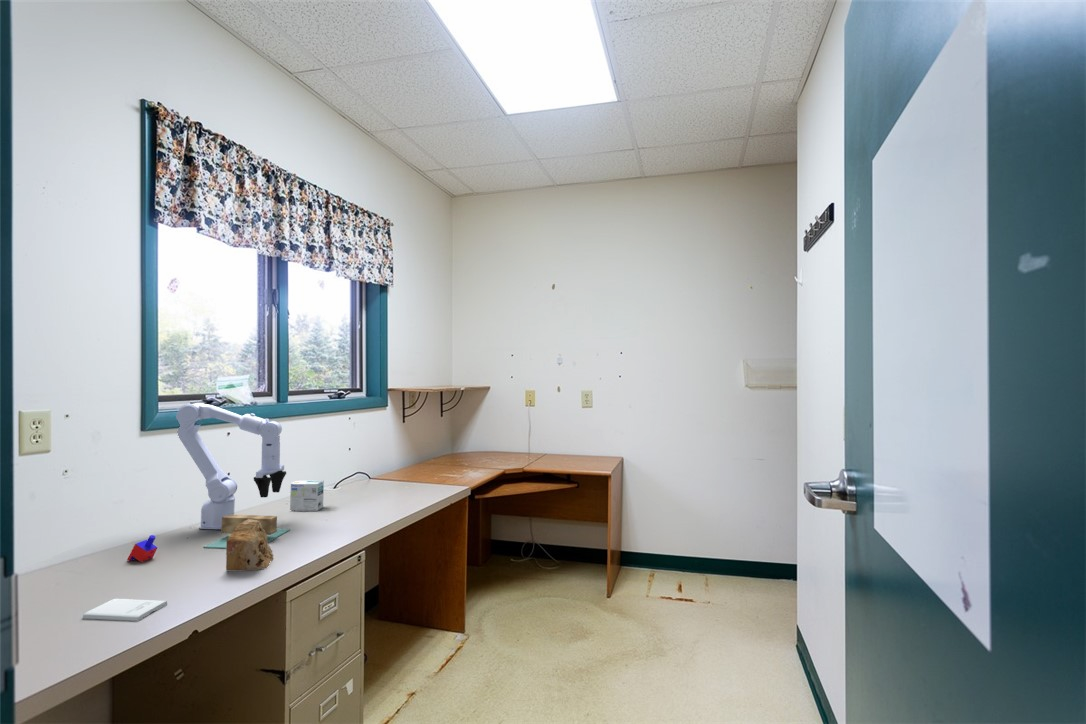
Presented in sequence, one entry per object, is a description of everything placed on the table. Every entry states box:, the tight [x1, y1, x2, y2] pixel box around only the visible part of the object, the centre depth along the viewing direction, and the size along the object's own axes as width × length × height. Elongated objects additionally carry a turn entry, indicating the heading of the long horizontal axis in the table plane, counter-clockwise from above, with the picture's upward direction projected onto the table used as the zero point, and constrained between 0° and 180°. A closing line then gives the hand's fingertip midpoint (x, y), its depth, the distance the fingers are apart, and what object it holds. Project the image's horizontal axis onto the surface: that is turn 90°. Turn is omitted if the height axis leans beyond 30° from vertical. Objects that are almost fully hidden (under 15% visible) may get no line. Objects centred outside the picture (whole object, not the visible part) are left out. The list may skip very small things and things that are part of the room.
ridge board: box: [203, 528, 291, 549], centre depth 169 cm, size 16×20×2 cm
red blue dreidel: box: [126, 534, 158, 563], centre depth 148 cm, size 4×4×8 cm
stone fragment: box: [225, 519, 275, 571], centre depth 148 cm, size 14×10×15 cm
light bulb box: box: [289, 480, 325, 512], centre depth 207 cm, size 11×7×11 cm, turn 94°
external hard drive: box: [82, 598, 168, 622], centre depth 117 cm, size 2×8×12 cm
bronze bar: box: [220, 514, 278, 535], centre depth 169 cm, size 16×4×5 cm, turn 88°
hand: (270, 494), depth 185 cm, fingers open, 7 cm apart
